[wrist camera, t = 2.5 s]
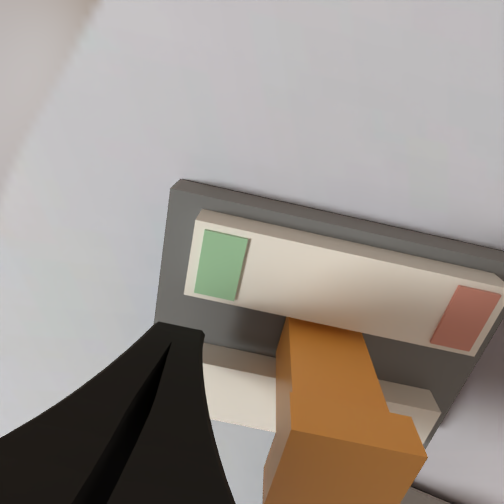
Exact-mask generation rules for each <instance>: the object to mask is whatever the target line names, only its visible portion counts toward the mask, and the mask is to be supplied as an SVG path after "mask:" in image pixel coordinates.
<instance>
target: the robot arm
mask: <svg viewBox="0 0 504 504" xmlns="http://www.w3.org/2000/svg"><path fill="white" fill-rule="evenodd" d="M204 338H205V334H204V333H203V331H202V330H198V329H193V328H188V327H183V326H178V325H174V324H169V323H164V322H157V323H155V324H154V325H153V326H152V327H151V328H150V329H149V330H148V331H147V332H146V333H145V334H144V335H143V336H142V337H141V338H140V339H138V340H137V341H136V342H135V343H134V344H133V345H132V346H131V347H130V348H129V349H127V350H126V351H125V352H124V353H123V354H122V355H120V356H119V357H118V358H117V359H116V360H114V361H113V362H112V363H111V364H110V365H109V366H107V367H106V368H105V369H104V370H102V371H101V372H100V373H98V374H97V375H96V376H94V377H93V378H92V379H91V380H89V381H88V382H87V383H85V384H84V385H83V386H81V387H80V388H79V389H77V390H76V391H74V392H73V393H72V394H70V395H69V396H67V397H66V398H64V399H63V400H62V401H60V402H59V403H57V404H56V405H54V406H52V407H51V408H49V409H48V410H46V411H45V412H43V413H42V414H40V415H38V416H37V417H35V418H34V419H32V420H30V421H29V422H27V423H25V424H23V425H22V426H20V427H18V428H17V429H15V430H13V431H12V432H10V433H8V434H6V435H5V436H3V437H1V438H0V504H235V501H234V498H233V496H232V493H231V490H230V487H229V485H228V482H227V479H226V476H225V473H224V469H223V466H222V463H221V460H220V456H219V453H218V449H217V445H216V442H215V438H214V434H213V430H212V425H211V421H210V416H209V410H208V405H207V399H206V393H205V384H204V375H203V343H204Z"/></svg>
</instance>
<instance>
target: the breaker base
mask: <svg viewBox="0 0 504 504" xmlns="http://www.w3.org/2000/svg"><path fill="white" fill-rule="evenodd" d="M286 317H291V318H296V319H300V320H305V321H310V322H314V323H319V324H324V325H328V326H333V327H338V328H342V329H347V330H352V331H356V332H361V333H362V335H363V338H364V340H365V343H366V346H367V349H368V352H369V355H370V358H371V361H372V363H373V366H374V369H375V372H376V375H377V378H378V381H379V384H380V386H381V389H382V392H383V395H384V398H385V401H386V404H387V407H388V409H389V412H391V413H396V414H400V415H405V416H410V417H412V420H413V422H414V425H415V427H416V430H417V432H418V435H419V437H420V439H421V442H422V444H423V447H424V448H425V449H426V447H427V446H428V444H429V442H430V441H431V439H432V437H433V436H434V434H435V432H436V430H437V429H438V427H439V425H440V424H441V422H442V420H443V419H444V417H445V415H446V414H447V412H448V410H449V409H450V407H451V405H452V404H453V402H454V400H455V398H456V397H457V395H458V393H459V392H460V390H461V388H462V387H463V385H464V383H465V382H466V380H467V378H468V377H469V375H470V373H471V372H472V370H473V368H474V367H475V365H476V363H477V361H478V360H479V358H480V356H481V355H482V353H483V351H484V350H485V348H486V346H487V345H488V343H489V341H490V340H491V338H492V336H493V335H494V333H495V331H496V330H497V328H498V326H499V324H500V323H501V321H502V319H503V318H504V251H500V250H496V249H491V248H487V247H483V246H478V245H474V244H469V243H465V242H460V241H456V240H451V239H447V238H442V237H438V236H433V235H429V234H424V233H420V232H415V231H411V230H406V229H402V228H397V227H393V226H389V225H384V224H380V223H375V222H371V221H366V220H362V219H357V218H353V217H348V216H344V215H339V214H335V213H330V212H326V211H321V210H317V209H312V208H308V207H304V206H299V205H295V204H290V203H286V202H281V201H277V200H272V199H268V198H263V197H259V196H254V195H250V194H245V193H241V192H236V191H232V190H227V189H223V188H219V187H214V186H210V185H205V184H201V183H196V182H192V181H187V180H183V179H180V180H179V181H178V182H176V183H175V184H174V185H173V186H172V187H171V188H170V196H169V204H168V212H167V220H166V229H165V237H164V245H163V253H162V261H161V270H160V278H159V286H158V294H157V302H156V311H155V319H154V324H155V323H157V322H164V323H169V324H174V325H178V326H183V327H188V328H193V329H198V330H202V331H203V333H204V334H205V338H204V343H203V375H204V384H205V393H206V399H207V405H208V410H209V416H210V419H212V420H217V421H222V422H227V423H232V424H237V425H241V426H246V427H251V428H256V429H261V430H266V431H271V432H276V350H277V346H278V343H279V340H280V336H281V333H282V330H283V326H284V323H285V320H286Z"/></svg>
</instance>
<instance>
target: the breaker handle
mask: <svg viewBox="0 0 504 504" xmlns="http://www.w3.org/2000/svg"><path fill="white" fill-rule="evenodd" d="M427 458H428V457H427V454H426V452H425V449H424V447H423V444H422V442H421V439H420V437H419V435H418V432H417V430H416V427H415V425H414V422H413V420H412V417H410V416H405V415H400V414H396V413H391V412H389V409H388V407H387V404H386V401H385V398H384V395H383V392H382V389H381V386H380V384H379V381H378V378H377V375H376V372H375V369H374V366H373V363H372V361H371V358H370V355H369V352H368V349H367V346H366V343H365V340H364V338H363V335H362V333H361V332H356V331H352V330H347V329H342V328H338V327H333V326H328V325H324V324H319V323H314V322H310V321H305V320H300V319H296V318H291V317H286V320H285V323H284V326H283V330H282V333H281V336H280V340H279V343H278V346H277V350H276V433H275V436H274V439H273V442H272V445H271V448H270V451H269V454H268V457H267V460H266V463H265V466H264V475H263V504H400V503H401V501H402V499H403V498H404V496H405V494H406V493H407V491H408V489H409V488H410V486H411V484H412V483H413V481H414V480H415V478H416V476H417V475H418V473H419V471H420V470H421V468H422V466H423V465H424V463H425V461H426V460H427Z"/></svg>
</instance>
